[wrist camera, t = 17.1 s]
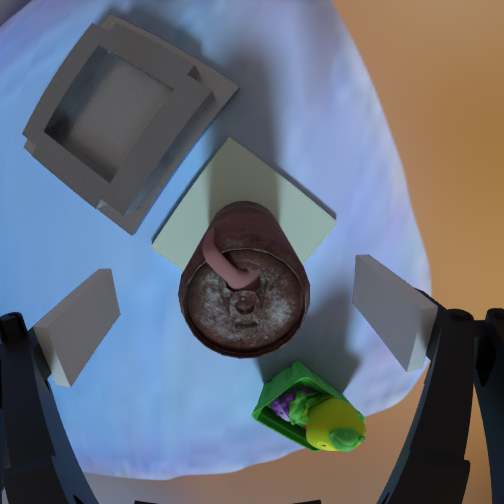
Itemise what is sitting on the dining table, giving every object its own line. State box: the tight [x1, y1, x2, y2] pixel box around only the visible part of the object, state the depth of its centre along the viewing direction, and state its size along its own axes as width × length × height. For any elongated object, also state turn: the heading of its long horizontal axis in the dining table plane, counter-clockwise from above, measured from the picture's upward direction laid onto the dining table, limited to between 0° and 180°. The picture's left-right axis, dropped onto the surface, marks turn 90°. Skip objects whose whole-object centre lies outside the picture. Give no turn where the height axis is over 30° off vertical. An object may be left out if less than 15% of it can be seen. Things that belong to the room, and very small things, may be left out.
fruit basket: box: [252, 360, 366, 451], centre depth 27 cm, size 11×9×11 cm
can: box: [178, 201, 310, 359], centre depth 19 cm, size 6×6×14 cm
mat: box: [150, 137, 338, 271], centre depth 26 cm, size 12×12×1 cm
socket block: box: [22, 14, 240, 236], centre depth 22 cm, size 16×16×4 cm
